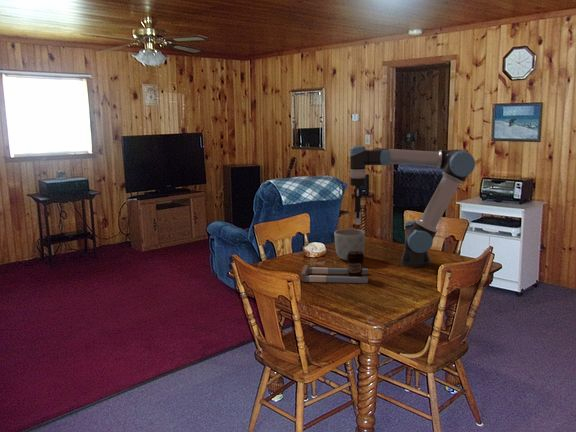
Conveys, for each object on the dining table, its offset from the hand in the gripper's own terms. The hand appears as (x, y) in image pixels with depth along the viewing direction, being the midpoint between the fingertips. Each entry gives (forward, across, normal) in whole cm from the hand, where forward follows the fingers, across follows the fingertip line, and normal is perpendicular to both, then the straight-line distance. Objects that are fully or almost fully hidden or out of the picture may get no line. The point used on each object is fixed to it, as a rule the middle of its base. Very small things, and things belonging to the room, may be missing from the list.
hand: (358, 223), depth 266 cm
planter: (+25, -22, -5) cm, 34 cm away
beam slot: (+25, +13, -10) cm, 30 cm away
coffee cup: (+25, +13, -1) cm, 28 cm away
